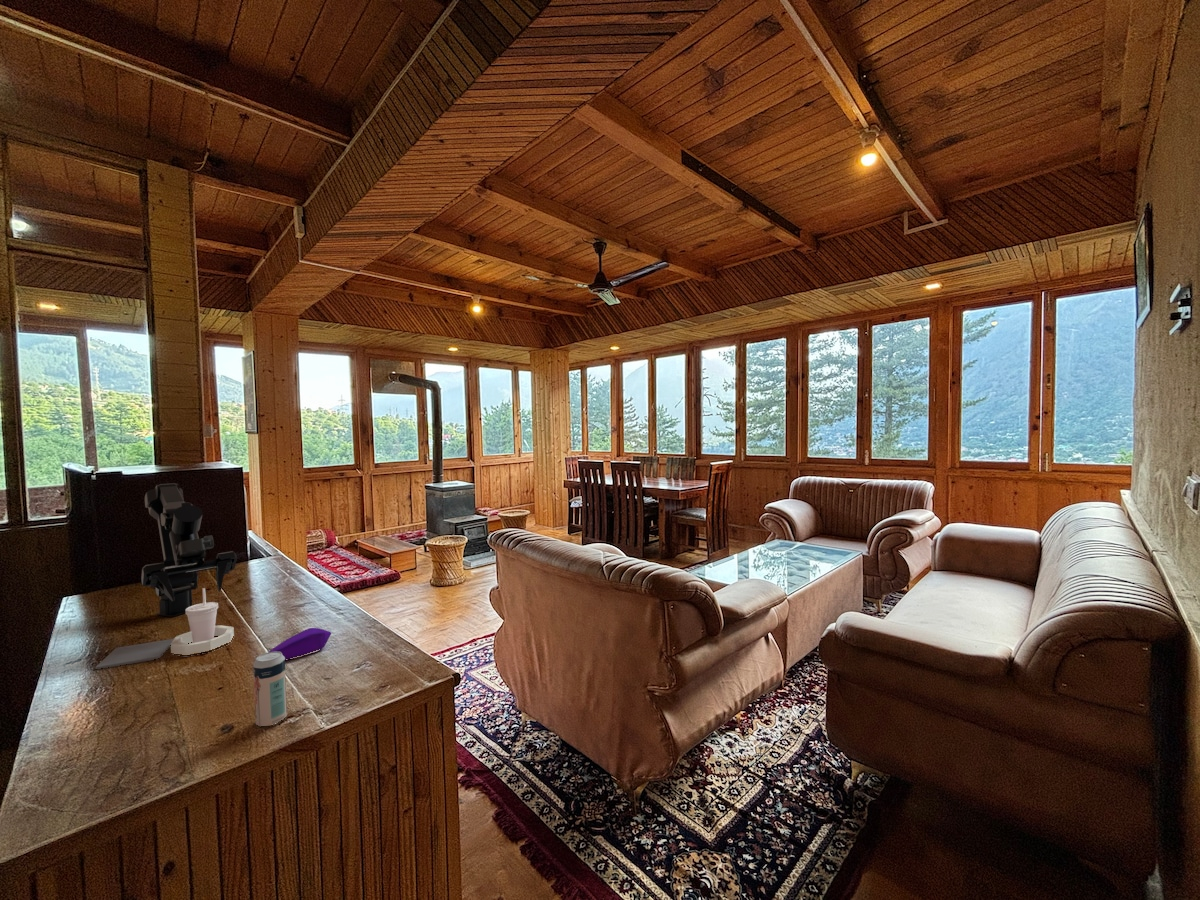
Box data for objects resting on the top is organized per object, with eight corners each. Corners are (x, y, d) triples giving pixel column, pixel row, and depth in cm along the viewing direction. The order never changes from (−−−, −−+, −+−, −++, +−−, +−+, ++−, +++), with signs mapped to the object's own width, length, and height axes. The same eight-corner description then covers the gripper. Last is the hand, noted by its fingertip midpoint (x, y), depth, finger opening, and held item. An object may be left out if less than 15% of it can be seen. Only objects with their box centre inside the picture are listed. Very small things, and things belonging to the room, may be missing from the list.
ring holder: (211, 633, 129) (210, 623, 129) (243, 638, 125) (243, 628, 125) (161, 652, 118) (160, 642, 118) (195, 658, 114) (195, 647, 114)
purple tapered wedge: (255, 647, 111) (326, 621, 122) (258, 667, 112) (328, 639, 123) (261, 653, 108) (333, 626, 119) (264, 674, 109) (336, 645, 120)
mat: (116, 650, 119) (116, 647, 119) (174, 640, 124) (174, 638, 124) (95, 669, 109) (95, 667, 109) (159, 658, 114) (159, 656, 114)
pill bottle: (265, 714, 91) (263, 650, 91) (292, 712, 92) (290, 649, 91) (249, 730, 87) (246, 663, 86) (278, 728, 87) (275, 661, 86)
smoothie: (225, 642, 123) (223, 586, 122) (195, 652, 117) (193, 594, 117) (211, 637, 126) (208, 583, 125) (181, 648, 120) (178, 591, 119)
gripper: (140, 533, 120) (149, 586, 113) (233, 521, 134) (247, 568, 127) (137, 559, 125) (146, 612, 119) (227, 546, 139) (240, 592, 133)
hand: (197, 595), depth 124 cm, fingers open, 9 cm apart
